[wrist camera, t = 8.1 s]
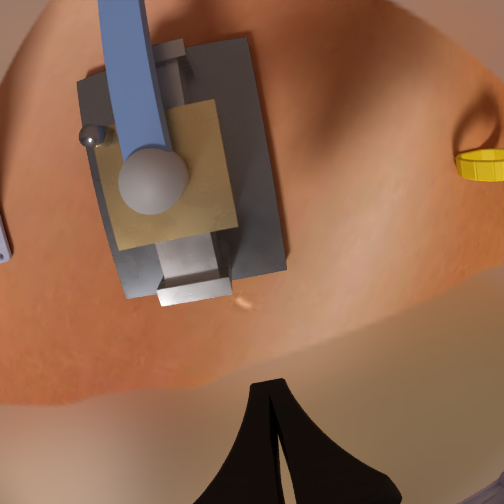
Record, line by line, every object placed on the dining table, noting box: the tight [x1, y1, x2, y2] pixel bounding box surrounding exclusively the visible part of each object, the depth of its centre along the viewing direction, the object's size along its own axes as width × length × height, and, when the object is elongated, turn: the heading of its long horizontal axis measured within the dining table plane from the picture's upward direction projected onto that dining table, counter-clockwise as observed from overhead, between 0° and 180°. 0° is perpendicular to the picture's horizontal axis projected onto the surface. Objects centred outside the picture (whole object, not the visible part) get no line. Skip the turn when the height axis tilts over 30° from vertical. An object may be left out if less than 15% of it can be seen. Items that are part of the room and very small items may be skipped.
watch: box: [455, 148, 504, 181], centre depth 17 cm, size 6×3×6 cm, turn 107°
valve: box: [77, 37, 287, 306], centre depth 15 cm, size 11×15×7 cm
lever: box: [98, 0, 189, 215], centre depth 11 cm, size 11×3×2 cm, turn 12°
